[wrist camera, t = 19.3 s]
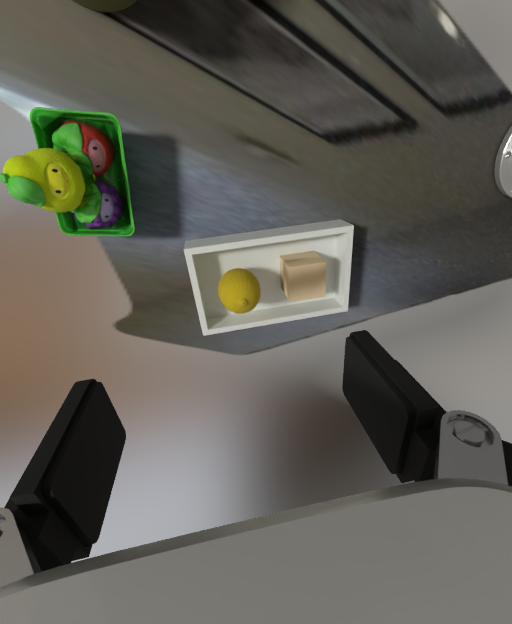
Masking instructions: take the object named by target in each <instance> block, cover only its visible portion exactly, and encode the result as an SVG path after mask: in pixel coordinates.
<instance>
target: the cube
mask: <svg viewBox="0 0 512 624" xmlns="http://www.w3.org/2000/svg"><path fill="white" fill-rule="evenodd" d="M279 259H280V279H281V289H282V290H283V292H284V294H285V295H286V297H287V299H288V300H289V302H296V301H302V300H308V299H315V298H321V297H325V292H326V264H327V262H326V261H325V260H324V259H323V258H321V257H320V256H319V255H318V254H317V253H315V252H314V251H308V252H301V253H294V254H286V255H279Z"/></svg>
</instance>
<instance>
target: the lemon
mask: <svg viewBox="0 0 512 624" xmlns="http://www.w3.org/2000/svg"><path fill="white" fill-rule="evenodd" d="M260 293H261V290H260V284H259V282H258V280H257V278H256V277H255V276H254V275H253V274H252V273H251V272H249V271H248V270H245V269H242V268H236V269H232V270H229V271H227V272H226V273H225V274H224V275H223V276H222V277H221V279H220V282H219V285H218V295H219V298H220V300H221V302H222V304H223V305H224V306H225V307H226V308H227V309H228V310H229V311H231V312H234V313H238V314H243V313H247V312H249V311H251V310H253V309H254V308H255V307H256V305H257V304H258V302H259V299H260Z"/></svg>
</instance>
